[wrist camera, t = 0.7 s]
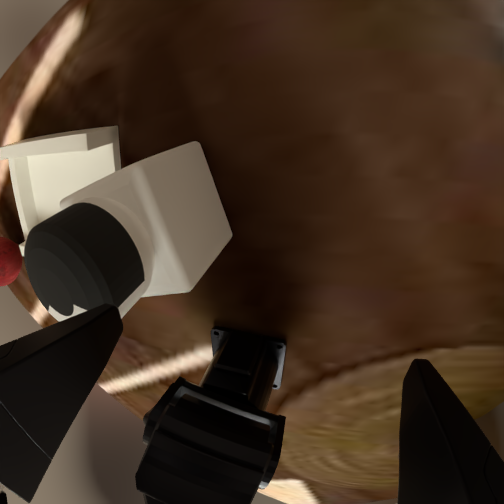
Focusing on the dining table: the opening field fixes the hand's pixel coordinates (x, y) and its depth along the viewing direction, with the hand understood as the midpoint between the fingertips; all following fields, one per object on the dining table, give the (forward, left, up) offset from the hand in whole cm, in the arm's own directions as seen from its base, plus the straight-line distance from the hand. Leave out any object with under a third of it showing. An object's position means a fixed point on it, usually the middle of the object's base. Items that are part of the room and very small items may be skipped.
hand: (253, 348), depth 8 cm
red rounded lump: (-9, +33, -13) cm, 37 cm away
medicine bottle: (-1, +9, -13) cm, 16 cm away
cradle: (-1, +20, -13) cm, 24 cm away
